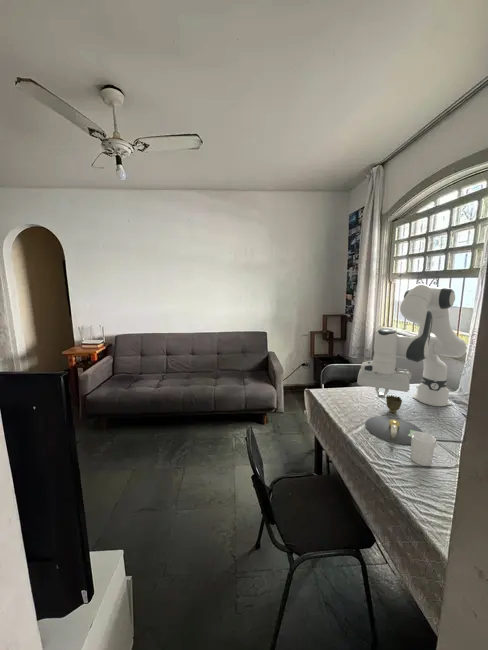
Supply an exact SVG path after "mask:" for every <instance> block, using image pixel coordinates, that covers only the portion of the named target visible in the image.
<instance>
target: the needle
mask: <svg viewBox="0 0 488 650" xmlns="http://www.w3.org/2000/svg"><path fill="white" fill-rule="evenodd" d="M399 427H400V422H399V421H397V420H394V419H390V420H389V428H390V429H391V433H390V439H391V440H393V441H396V437H397V430H399Z"/></svg>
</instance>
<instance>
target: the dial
mask: <svg viewBox="0 0 488 650" xmlns="http://www.w3.org/2000/svg"><path fill="white" fill-rule="evenodd" d="M390 419H394V420H397V421H399V422H400V427H399V430H397V437H396V441H393V440H391V439H390V433H391V429H390V428H389V420H390ZM365 427H366V429H367V430H368V431H369V433H371V435H373V436H375V437H376V438H378V439H381V440H384V441H386V442H389V443H391V444H397V445H404V446H411V437H412V433H413V432H423V430H422V429H421V428H419V427H418V426H417V425H415V424H413V423H412V422H410V421H407V420H404V419H403V418H398V417H393V416H389V415H388V416H387V415H376V416H371V417H369V418H368V419H367V420H366V421H365Z"/></svg>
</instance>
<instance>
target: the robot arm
mask: <svg viewBox="0 0 488 650" xmlns="http://www.w3.org/2000/svg"><path fill="white" fill-rule="evenodd" d="M455 301H456V294H455V291H454V289H452V288H451V287H441V286H440V287H437V286H429V285H428V284H424V283H418V284H415V285H414V286H412V287H411V288H409V289H407V290H406V291H405V292H404V295H403V299H402V301H401V304H400V307H399V310H400V311H399V312H400V313H401V315H402V317H403V318H404V319H406V320H407V321H408V322H411V323H414V324H416V325H418V327H419V329H418V332H417V334H416V335H415V336H409V335H402V334H398V333H397V330H396V329H394V328H388V327H387V328H386V327H385V328H380V329H378V330H377V332H376V333H375V338H374V341H373V342H374V343H373V352H374V354H373V357H372V360H368V361H362V363H361V366H360V368H359V372H358V375H357V382H356V383H357V384H358V386H363V387H364V386H365V387H369V388H375V391H376V395H377V398H379V399H380V398H381V399H386V396H387V395H388V393H389V390H390V391H397V392H405V393H407V392H408V393H409V391H410V385H411V384H410V380H411V379H412V372H411V371H410V370H408V369H405V368H404V369H403V368H397V367H396V365H397V359H396V358H399V359H400V358H401V359H405V360H408V361H412V362H415V363H419V362H421V361H422V363H423V369H422V370H423V371H422V372H423V373H422V376H421V383H419V384H417V385H416V390H415V392H414V394H413V395H412V399H415V400H417V401H419V402H420V403H423V404H425V405H429V406H434V407H445V406H452V404H453V403H452V402H451V401H450V400H449V396H450V390H449V389H448V388H447V384H448V379H447V375H448V366H447V363H445V362H444V361H443V360H441V358H440V357H439V356H443V357H448V358H460V357H463V356H464V355H465V354H466V351H467V350H468V346H467V344H466V341H464V340H463V339H461V337H459V336H458V335H457V333H455V331H454V330H453V328H452V327H451V323H450V315H449V314H450V313H449V312H450V311H449V309H450V308H452V307H453V306H454V303H455ZM380 389H383V390H384V392H380V391H379V390H380Z"/></svg>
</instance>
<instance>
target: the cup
mask: <svg viewBox="0 0 488 650" xmlns="http://www.w3.org/2000/svg"><path fill="white" fill-rule="evenodd" d="M385 400H386V401H385V402H386V406H387V408H388V410H389V412H390V413H392V414H396V413H397V412H398V411H399V410H400V409H401V406H402V401H403V399H402V398H401V397H400V396H397V395H395V396H394V395H392V394H391V395H386V396H385Z"/></svg>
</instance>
